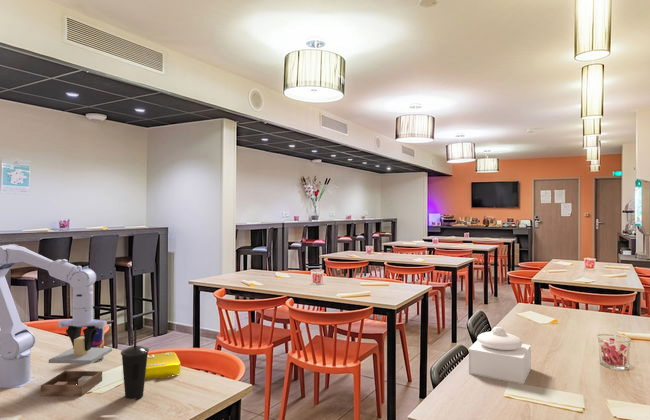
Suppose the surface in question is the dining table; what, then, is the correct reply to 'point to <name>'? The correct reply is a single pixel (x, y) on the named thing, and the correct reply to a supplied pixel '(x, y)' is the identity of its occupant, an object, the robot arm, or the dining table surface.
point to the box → (71, 383)
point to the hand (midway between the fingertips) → (82, 349)
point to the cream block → (83, 379)
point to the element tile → (162, 365)
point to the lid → (80, 353)
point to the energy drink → (98, 340)
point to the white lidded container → (500, 356)
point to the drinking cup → (134, 369)
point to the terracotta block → (61, 383)
